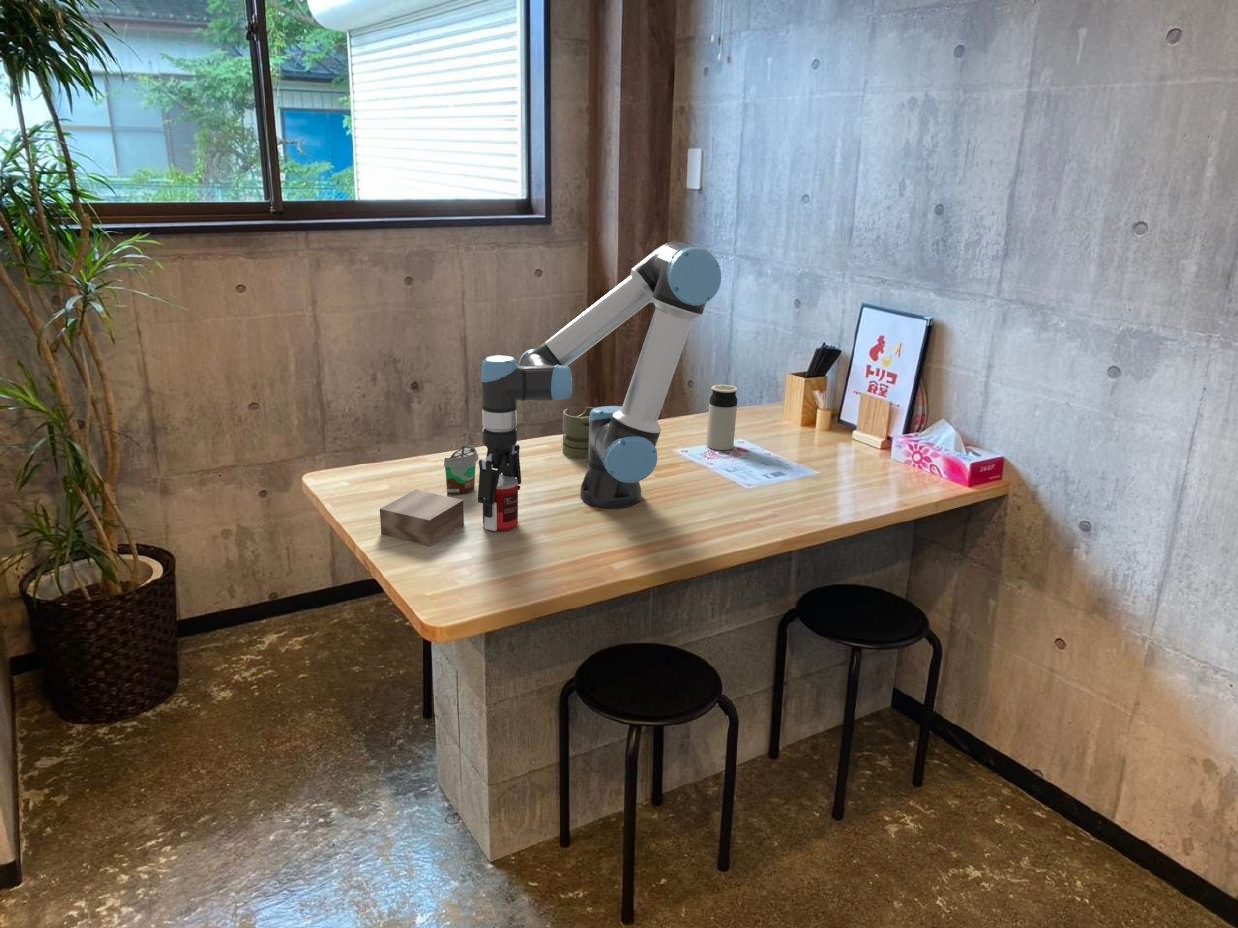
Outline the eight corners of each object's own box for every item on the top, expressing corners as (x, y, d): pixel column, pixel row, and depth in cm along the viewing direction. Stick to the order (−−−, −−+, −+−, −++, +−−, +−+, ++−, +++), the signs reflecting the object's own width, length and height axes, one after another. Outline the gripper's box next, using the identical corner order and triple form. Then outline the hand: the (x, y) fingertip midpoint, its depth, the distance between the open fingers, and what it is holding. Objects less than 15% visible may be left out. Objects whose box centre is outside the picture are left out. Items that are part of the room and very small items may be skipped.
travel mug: (734, 451, 257) (739, 391, 251) (707, 450, 257) (711, 390, 251) (731, 443, 264) (736, 384, 258) (705, 441, 264) (709, 383, 258)
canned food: (483, 518, 204) (483, 474, 201) (518, 518, 205) (518, 474, 201) (481, 532, 197) (480, 486, 193) (517, 532, 198) (517, 486, 194)
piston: (610, 416, 244) (572, 419, 240) (608, 456, 248) (571, 461, 244) (593, 405, 254) (557, 408, 249) (592, 444, 258) (556, 448, 253)
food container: (468, 499, 215) (467, 461, 211) (444, 496, 216) (443, 458, 212) (486, 482, 226) (485, 445, 223) (463, 479, 227) (462, 443, 224)
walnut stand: (463, 524, 201) (463, 500, 199) (430, 545, 190) (429, 520, 187) (416, 513, 206) (415, 489, 204) (381, 533, 194) (379, 508, 192)
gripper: (508, 413, 203) (509, 504, 211) (458, 437, 186) (461, 535, 193) (537, 417, 201) (536, 510, 208) (489, 442, 183) (490, 542, 191)
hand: (500, 522), depth 201 cm, fingers closed on canned food, 8 cm apart
